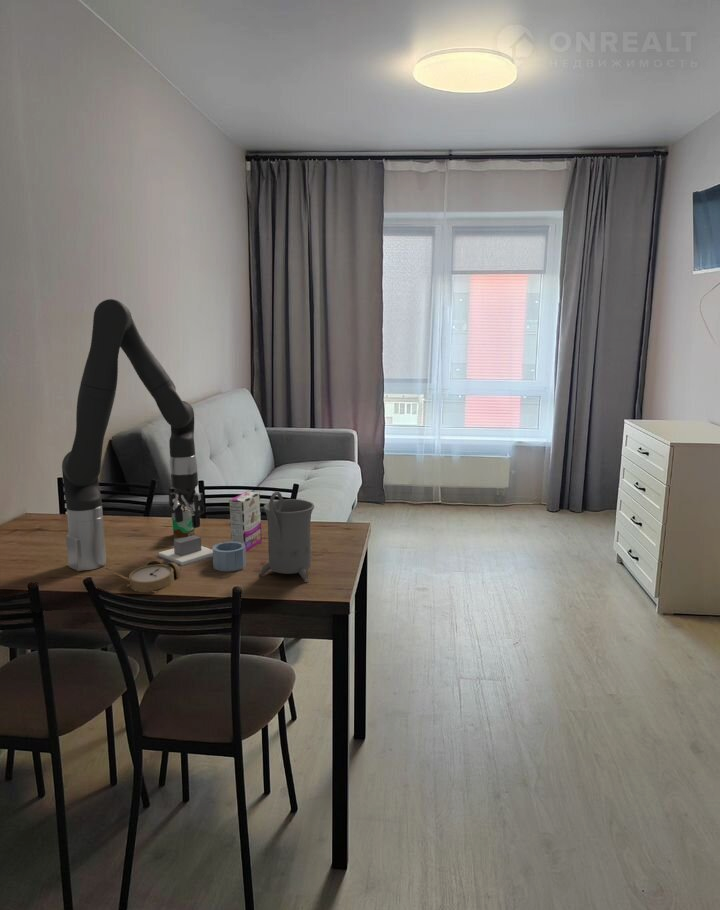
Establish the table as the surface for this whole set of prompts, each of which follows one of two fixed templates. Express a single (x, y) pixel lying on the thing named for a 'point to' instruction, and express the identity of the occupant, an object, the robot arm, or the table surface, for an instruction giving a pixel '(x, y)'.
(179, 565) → the mat
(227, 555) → the bowl
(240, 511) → the candy bar box
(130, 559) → the table surface
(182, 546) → the lid
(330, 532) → the table surface
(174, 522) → the food container
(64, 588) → the table surface
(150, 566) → the alarm clock
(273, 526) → the grey footed pot
